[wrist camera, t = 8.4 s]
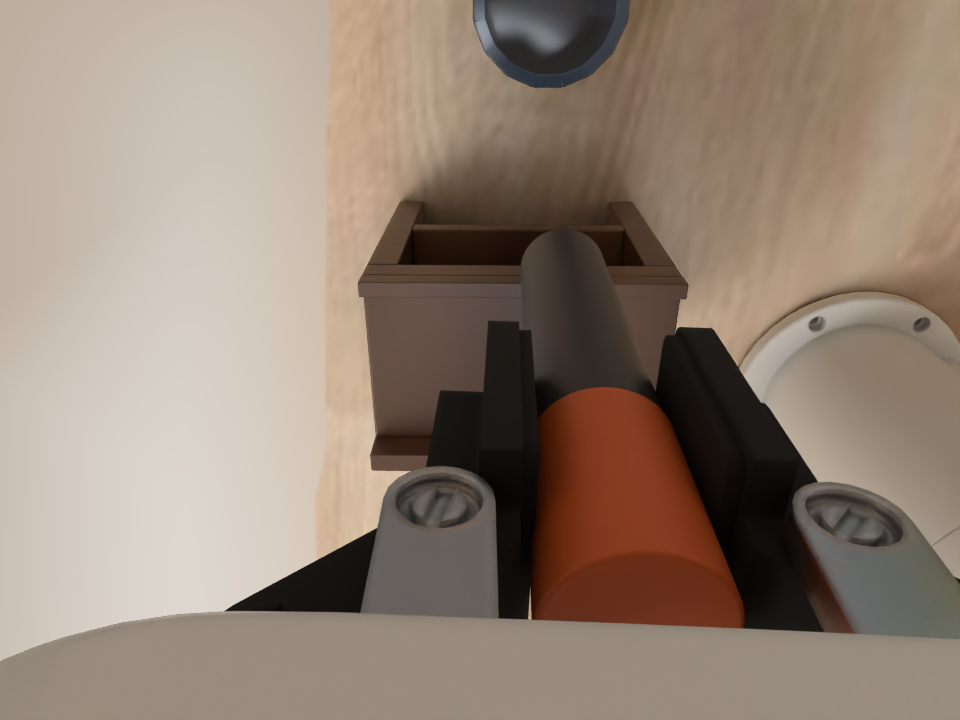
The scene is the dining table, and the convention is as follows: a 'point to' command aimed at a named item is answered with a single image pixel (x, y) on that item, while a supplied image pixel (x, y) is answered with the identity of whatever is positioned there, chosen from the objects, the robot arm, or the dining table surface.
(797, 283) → the dining table surface
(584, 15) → the pen cup
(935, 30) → the dining table surface
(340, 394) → the dining table surface
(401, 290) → the shelf
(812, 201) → the dining table surface
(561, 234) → the marker
